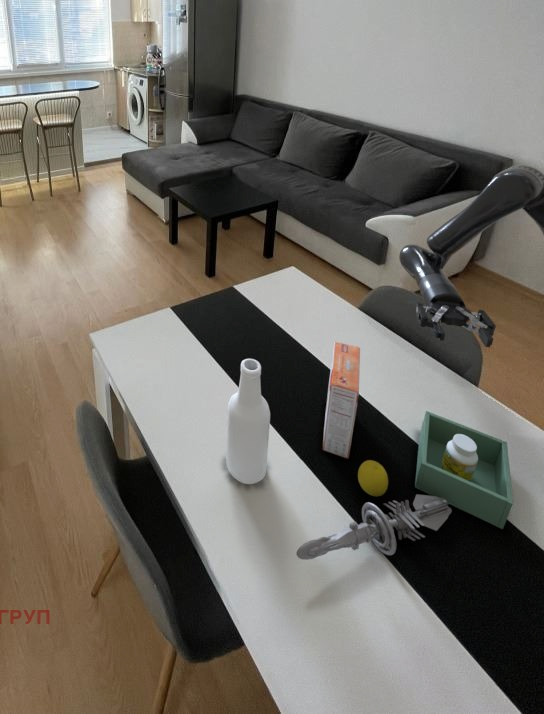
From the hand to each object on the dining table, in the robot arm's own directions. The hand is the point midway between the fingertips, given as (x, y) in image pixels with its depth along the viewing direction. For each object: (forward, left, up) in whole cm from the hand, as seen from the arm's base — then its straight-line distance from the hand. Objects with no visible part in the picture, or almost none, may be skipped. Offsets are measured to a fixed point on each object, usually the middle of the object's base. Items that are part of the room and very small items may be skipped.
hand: (465, 340), depth 92 cm
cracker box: (+21, +13, -28) cm, 37 cm away
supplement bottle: (-3, +11, -27) cm, 29 cm away
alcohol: (+36, +33, -28) cm, 56 cm away
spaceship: (+9, +33, -28) cm, 44 cm away
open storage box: (-3, +11, -27) cm, 30 cm away
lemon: (+12, +24, -28) cm, 38 cm away
